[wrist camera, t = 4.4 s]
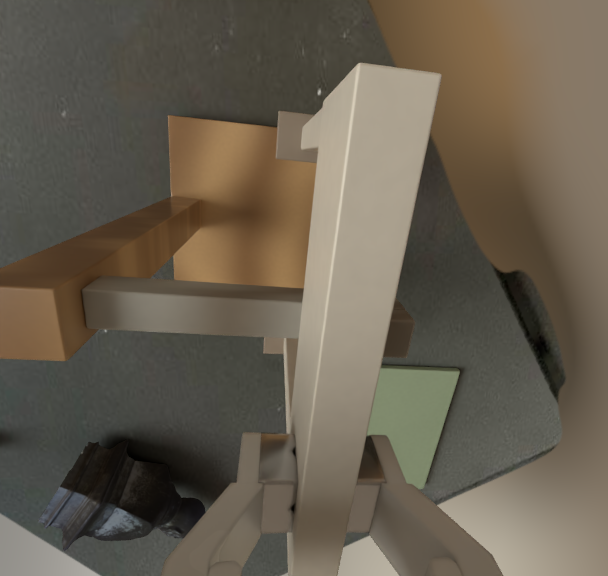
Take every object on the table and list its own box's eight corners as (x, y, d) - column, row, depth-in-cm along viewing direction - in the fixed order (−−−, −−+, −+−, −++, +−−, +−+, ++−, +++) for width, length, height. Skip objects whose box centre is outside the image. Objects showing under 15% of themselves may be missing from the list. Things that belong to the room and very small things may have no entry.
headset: (335, 125, 19) (523, 39, 5) (312, 324, 24) (370, 598, 9) (277, 118, 19) (285, 2, 4) (265, 321, 23) (247, 602, 9)
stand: (350, 136, 24) (520, 100, 7) (328, 295, 28) (405, 500, 12) (173, 116, 23) (-114, 16, 6) (178, 285, 27) (21, 501, 10)
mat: (457, 367, 32) (460, 371, 31) (421, 483, 37) (423, 489, 37) (352, 363, 31) (353, 367, 30) (331, 483, 36) (332, 488, 36)
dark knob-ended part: (194, 515, 37) (178, 587, 31) (70, 470, 33) (24, 541, 27) (225, 477, 35) (214, 544, 29) (97, 425, 31) (55, 490, 25)
